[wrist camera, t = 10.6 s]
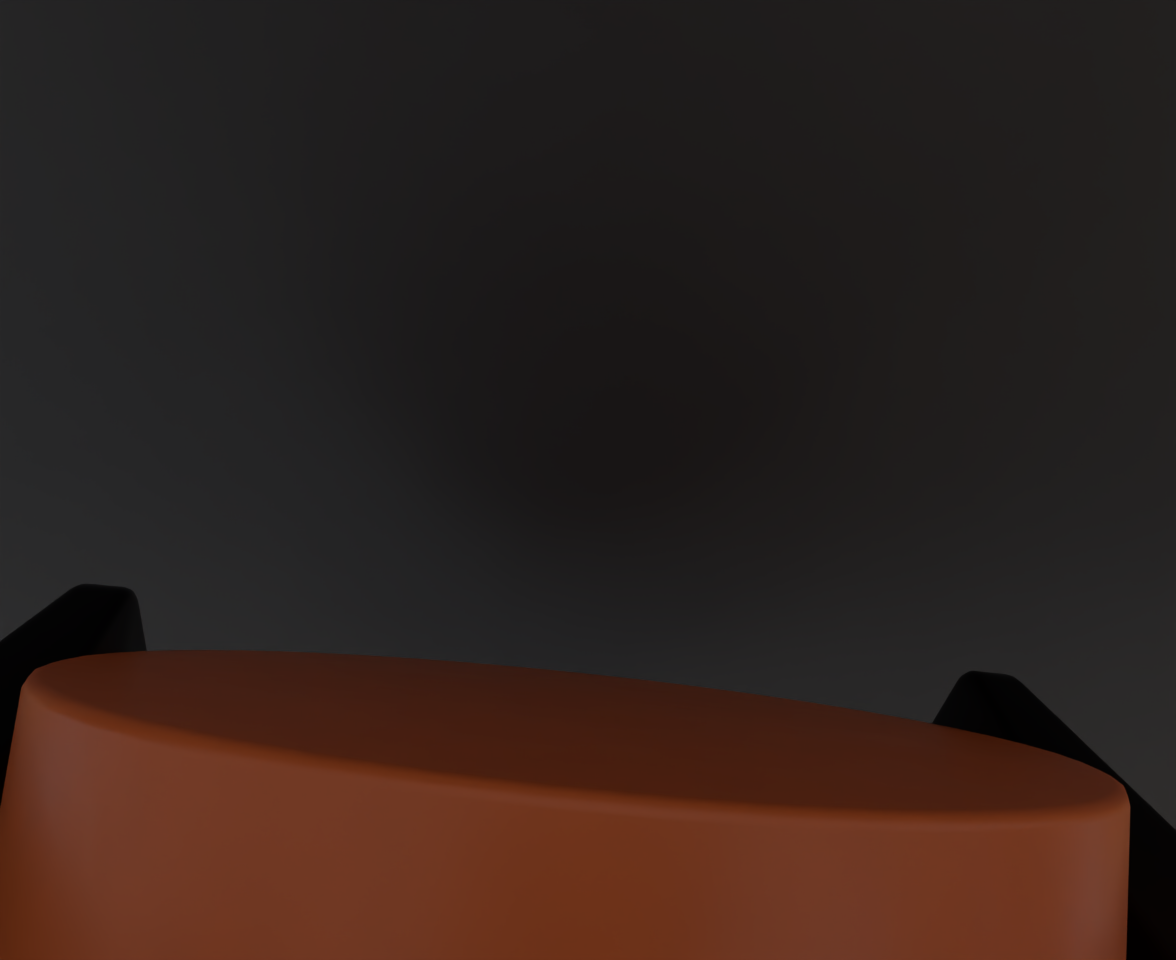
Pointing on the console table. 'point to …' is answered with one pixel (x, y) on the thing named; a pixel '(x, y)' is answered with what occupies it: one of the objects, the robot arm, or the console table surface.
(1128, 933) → the robot arm
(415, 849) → the disc
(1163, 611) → the mat
